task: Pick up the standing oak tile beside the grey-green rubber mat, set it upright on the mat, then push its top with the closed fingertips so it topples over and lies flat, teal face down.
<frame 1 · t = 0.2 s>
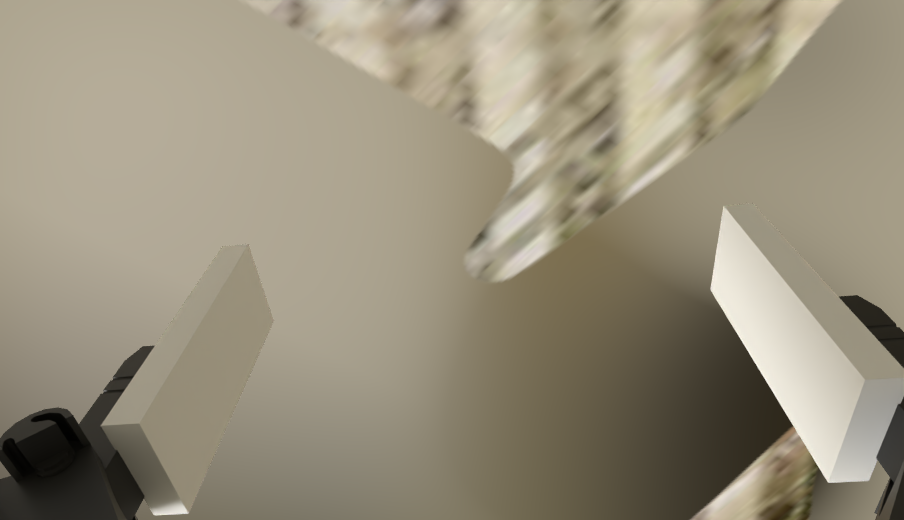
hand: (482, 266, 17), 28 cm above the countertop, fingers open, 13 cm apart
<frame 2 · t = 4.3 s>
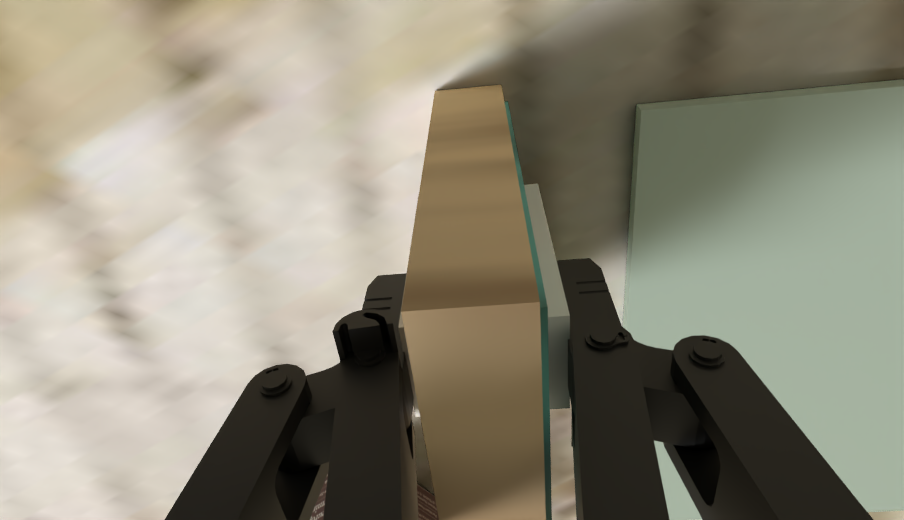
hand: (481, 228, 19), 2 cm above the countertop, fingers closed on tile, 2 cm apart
mat: (832, 340, 23), on the countertop
tile: (478, 206, 20), on the countertop, touching gripper
box: (359, 492, 29), on the countertop
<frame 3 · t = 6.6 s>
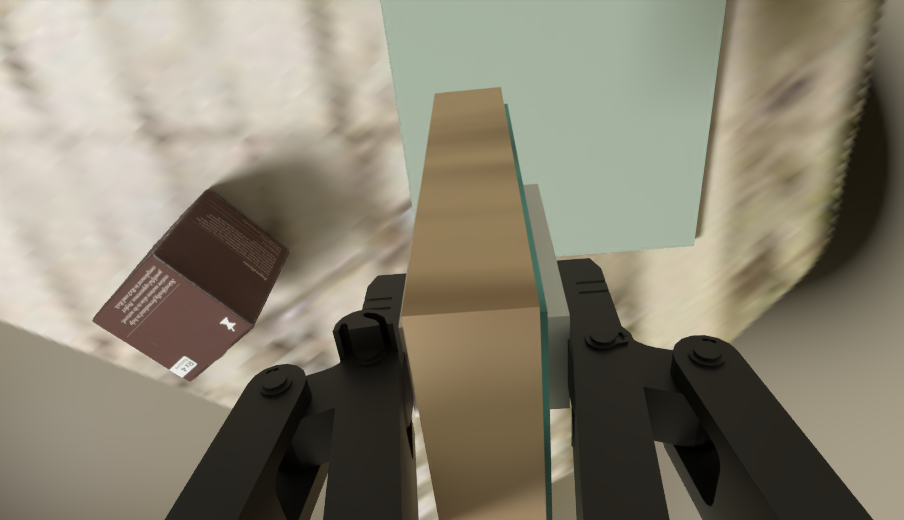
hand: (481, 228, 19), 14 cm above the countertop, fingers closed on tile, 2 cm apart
mat: (552, 85, 30), on the countertop
tile: (478, 208, 20), point 13 cm above the countertop, touching gripper
box: (223, 246, 36), on the countertop
when the fingers open (3 cm above the countertop, at t = 9.0 s): tile stays where it is, resting on mat.
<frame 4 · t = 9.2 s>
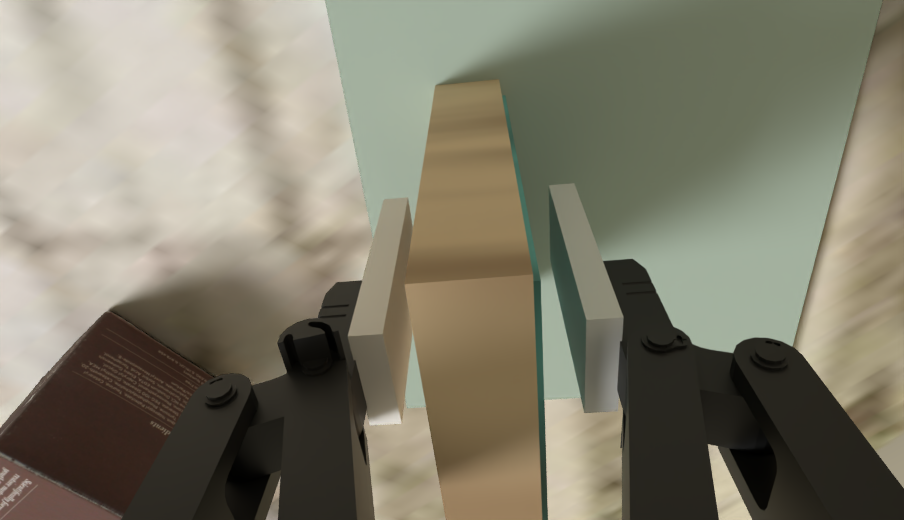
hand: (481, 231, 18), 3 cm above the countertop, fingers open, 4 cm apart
mat: (593, 179, 21), on the countertop
tile: (477, 197, 21), point 1 cm above the countertop, touching mat
box: (138, 377, 27), on the countertop
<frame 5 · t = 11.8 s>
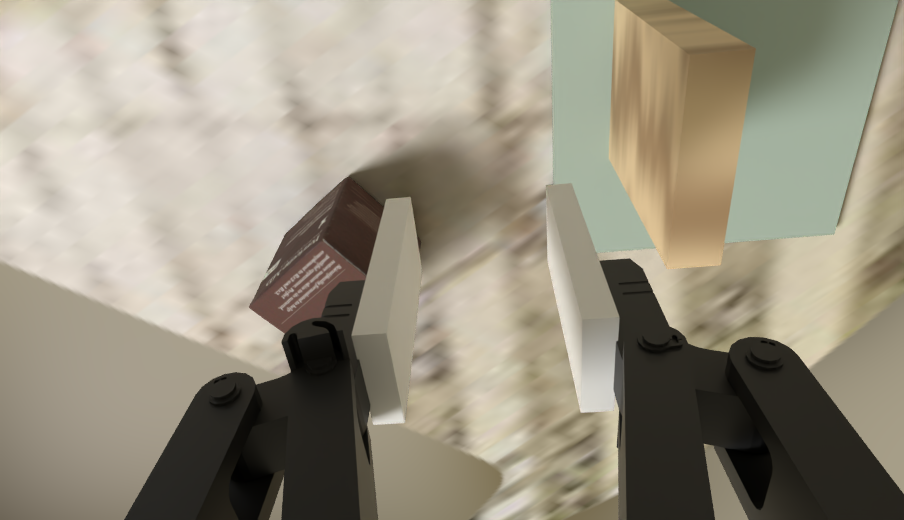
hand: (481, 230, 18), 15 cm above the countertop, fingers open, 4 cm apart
mat: (710, 70, 30), on the countertop
tile: (631, 82, 30), point 1 cm above the countertop, touching mat
box: (354, 235, 36), on the countertop
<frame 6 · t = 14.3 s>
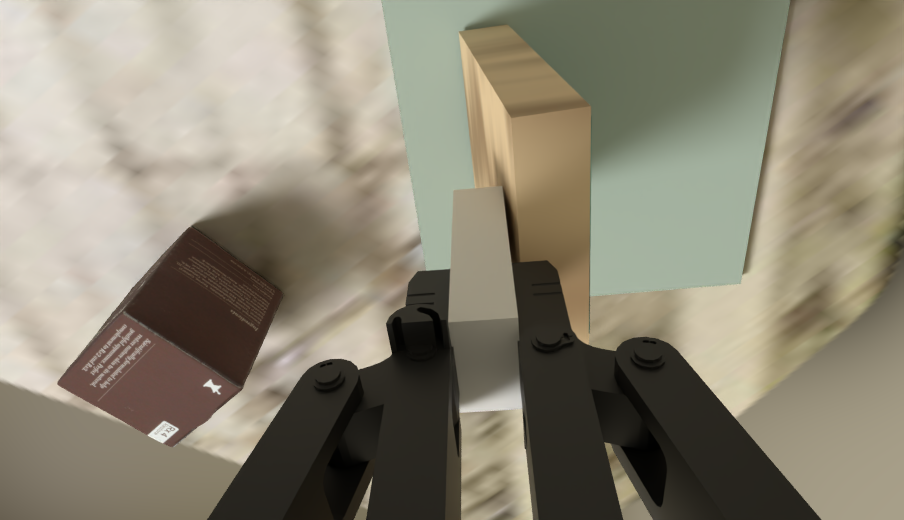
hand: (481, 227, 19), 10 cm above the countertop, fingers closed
mat: (582, 107, 26), on the countertop
tile: (490, 123, 26), point 1 cm above the countertop, tilted 7°, touching mat
box: (210, 288, 32), on the countertop
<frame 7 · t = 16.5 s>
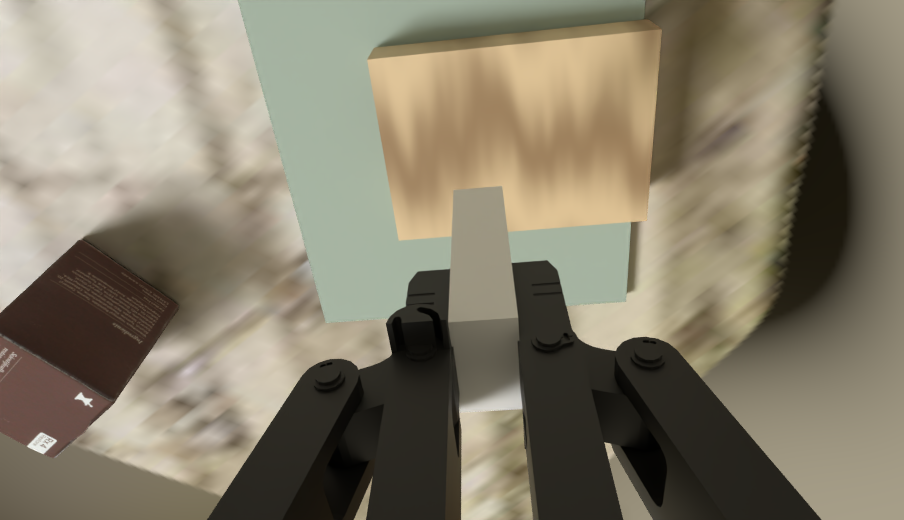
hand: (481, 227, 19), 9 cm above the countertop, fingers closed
mat: (454, 127, 27), on the countertop
tile: (386, 148, 25), point 2 cm above the countertop, tilted 90°, touching mat
box: (108, 299, 33), on the countertop
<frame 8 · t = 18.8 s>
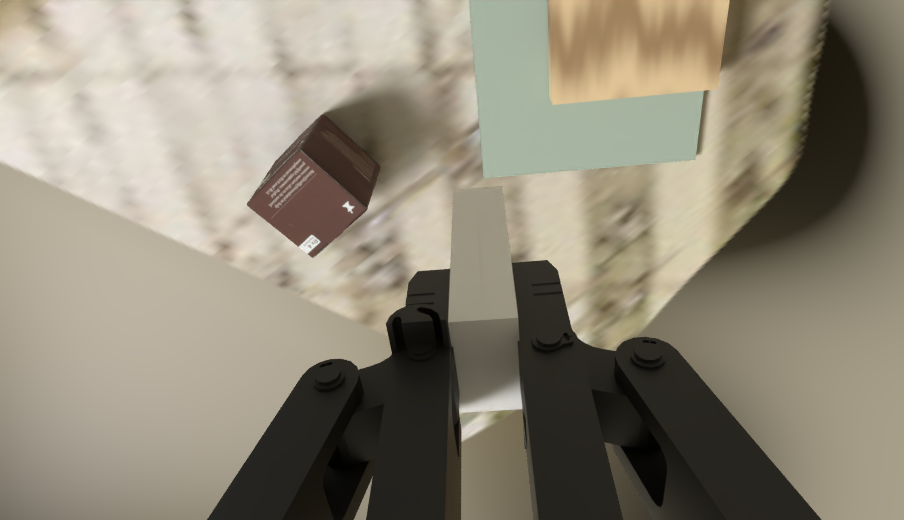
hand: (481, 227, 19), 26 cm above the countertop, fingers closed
mat: (589, 30, 40), on the countertop
tile: (549, 41, 39), point 2 cm above the countertop, tilted 90°, touching mat
box: (328, 163, 46), on the countertop
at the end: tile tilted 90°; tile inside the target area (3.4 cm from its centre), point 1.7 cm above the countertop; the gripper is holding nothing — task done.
